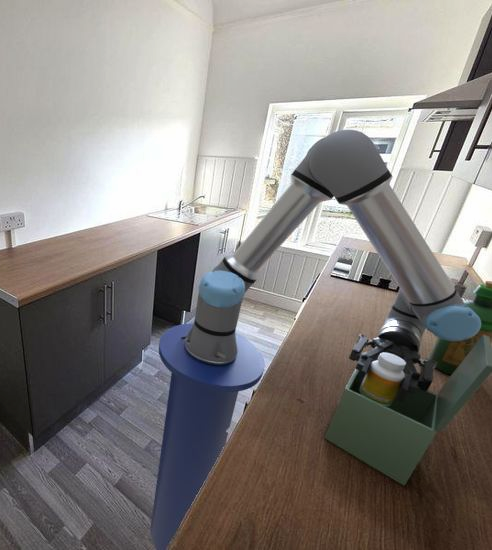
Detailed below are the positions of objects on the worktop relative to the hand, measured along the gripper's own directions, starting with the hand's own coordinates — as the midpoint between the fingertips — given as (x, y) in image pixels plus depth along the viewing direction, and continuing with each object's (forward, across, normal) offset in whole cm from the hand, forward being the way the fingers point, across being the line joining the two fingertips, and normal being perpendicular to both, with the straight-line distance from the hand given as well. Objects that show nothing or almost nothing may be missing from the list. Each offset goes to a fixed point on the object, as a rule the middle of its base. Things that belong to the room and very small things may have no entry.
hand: (380, 385), depth 55 cm
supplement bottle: (-5, 0, -6) cm, 8 cm away
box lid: (-5, -9, +4) cm, 11 cm away
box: (-5, -2, -17) cm, 18 cm away
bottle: (-56, -13, -17) cm, 60 cm away
